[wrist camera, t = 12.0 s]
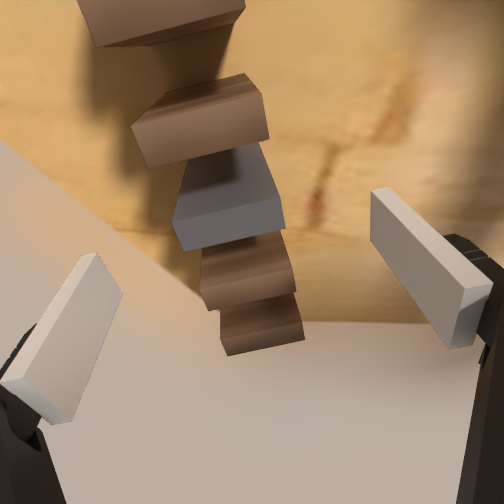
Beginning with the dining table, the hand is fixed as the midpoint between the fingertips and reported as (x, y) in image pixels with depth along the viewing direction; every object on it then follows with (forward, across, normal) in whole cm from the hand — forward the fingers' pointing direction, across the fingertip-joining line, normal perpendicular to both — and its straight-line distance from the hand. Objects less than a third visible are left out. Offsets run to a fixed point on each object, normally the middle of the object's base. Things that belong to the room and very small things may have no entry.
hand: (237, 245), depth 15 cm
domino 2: (+14, -1, +5) cm, 14 cm away
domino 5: (+13, -1, -10) cm, 17 cm away
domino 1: (+14, -1, +10) cm, 17 cm away
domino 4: (+13, -1, -5) cm, 14 cm away
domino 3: (+14, -1, 0) cm, 14 cm away
